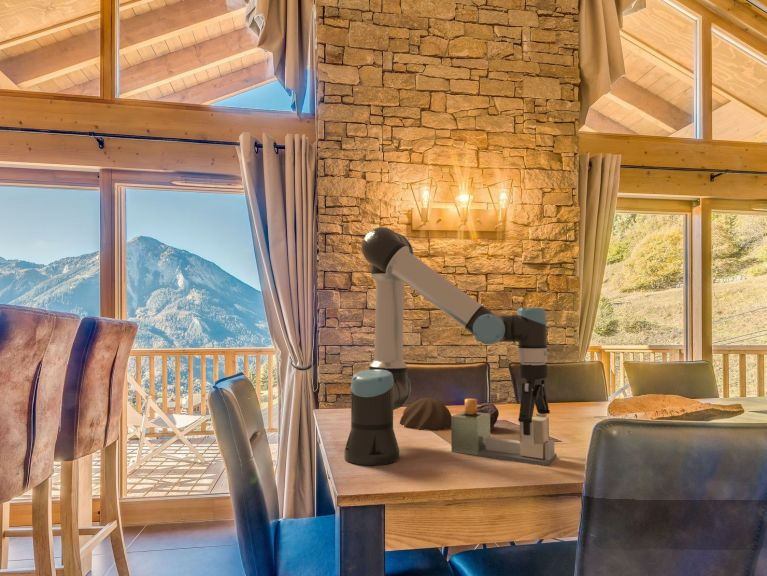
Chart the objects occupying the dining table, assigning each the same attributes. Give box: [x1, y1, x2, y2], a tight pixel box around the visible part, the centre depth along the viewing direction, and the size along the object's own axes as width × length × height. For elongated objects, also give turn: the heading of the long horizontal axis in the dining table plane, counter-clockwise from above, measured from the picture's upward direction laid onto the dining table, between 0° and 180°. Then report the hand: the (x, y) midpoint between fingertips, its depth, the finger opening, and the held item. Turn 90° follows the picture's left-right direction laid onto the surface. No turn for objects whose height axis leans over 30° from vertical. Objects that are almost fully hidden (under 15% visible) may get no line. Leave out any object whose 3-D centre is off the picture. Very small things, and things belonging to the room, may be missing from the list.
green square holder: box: [450, 410, 491, 456], centre depth 146 cm, size 10×8×10 cm
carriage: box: [519, 415, 550, 459], centre depth 137 cm, size 7×6×10 cm
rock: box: [477, 402, 500, 431], centre depth 174 cm, size 12×9×10 cm
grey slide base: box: [478, 436, 557, 467], centre depth 139 cm, size 10×19×5 cm, turn 58°
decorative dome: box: [399, 397, 452, 431], centre depth 182 cm, size 19×20×10 cm
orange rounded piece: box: [464, 398, 478, 415], centre depth 147 cm, size 4×4×4 cm
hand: (535, 442), depth 136 cm, fingers open, 13 cm apart
